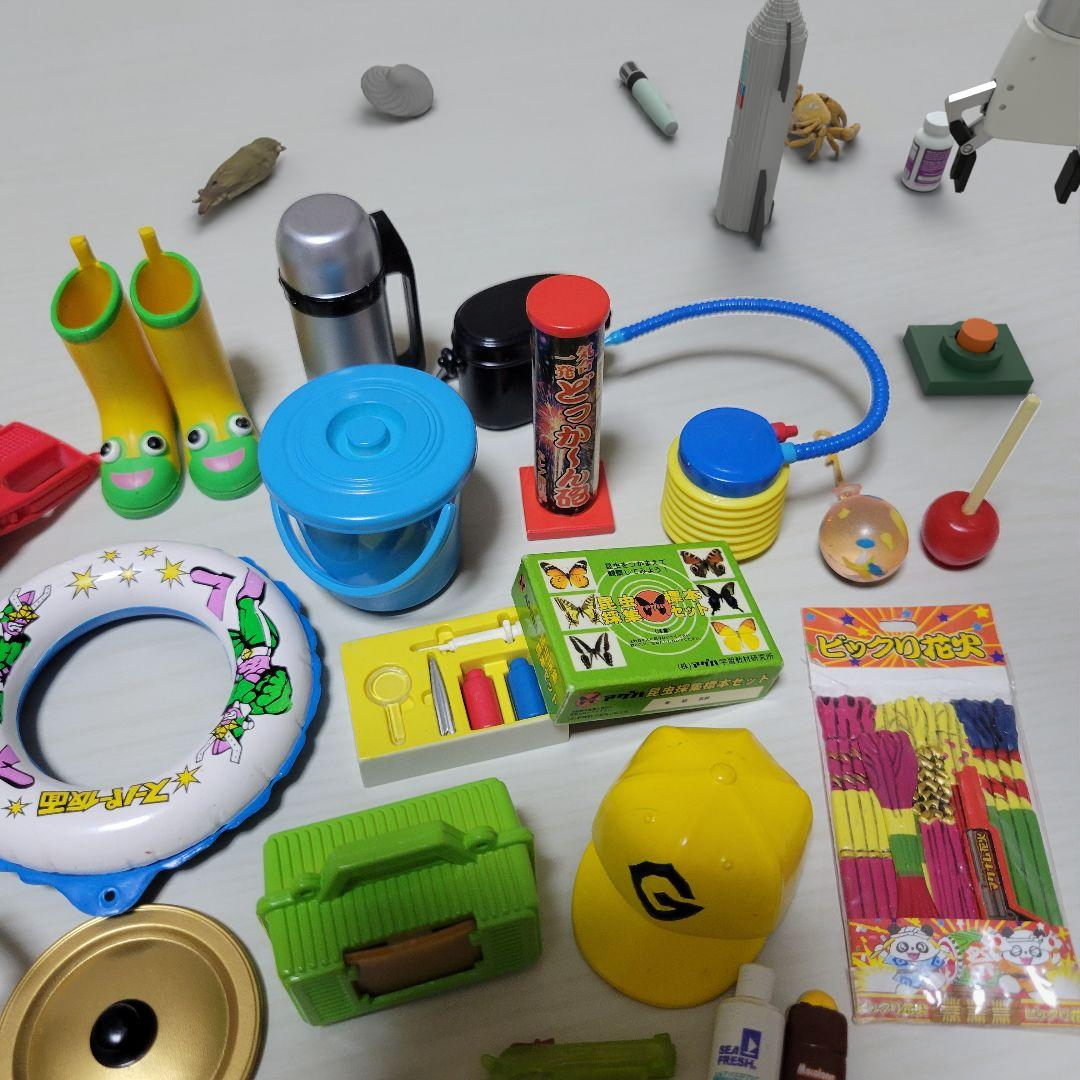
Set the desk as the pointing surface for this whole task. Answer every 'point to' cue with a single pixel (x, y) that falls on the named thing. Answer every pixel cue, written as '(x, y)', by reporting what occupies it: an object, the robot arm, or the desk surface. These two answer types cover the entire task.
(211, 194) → the decorative bird model
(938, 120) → the pill bottle
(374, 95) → the seashell
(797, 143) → the crab model
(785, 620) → the desk surface
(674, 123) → the flashlight
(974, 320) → the press button
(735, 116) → the rocket model
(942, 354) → the button box
